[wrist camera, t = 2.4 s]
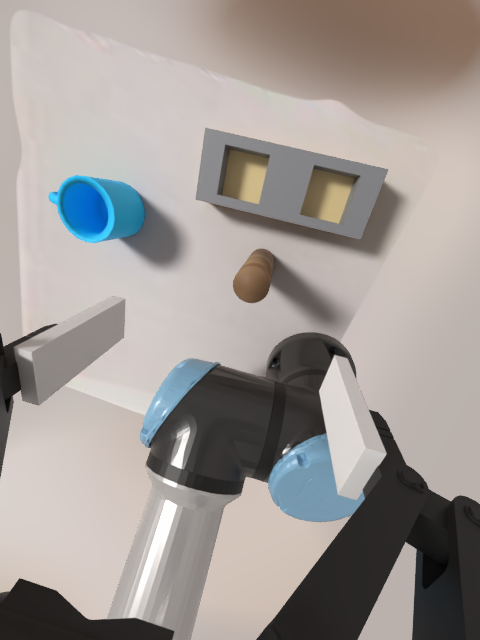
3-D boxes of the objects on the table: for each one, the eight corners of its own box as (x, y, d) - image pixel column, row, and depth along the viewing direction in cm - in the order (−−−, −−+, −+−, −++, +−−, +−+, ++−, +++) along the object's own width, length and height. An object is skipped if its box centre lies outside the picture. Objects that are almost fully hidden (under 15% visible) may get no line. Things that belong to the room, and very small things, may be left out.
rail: (375, 174, 35) (388, 169, 30) (351, 236, 38) (360, 239, 34) (215, 137, 36) (205, 127, 32) (206, 200, 40) (195, 199, 35)
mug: (147, 189, 40) (116, 185, 33) (142, 242, 44) (113, 249, 36) (74, 168, 41) (27, 159, 33) (74, 222, 44) (32, 225, 37)
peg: (277, 270, 42) (273, 298, 29) (253, 277, 43) (239, 306, 30) (270, 245, 41) (263, 262, 28) (245, 253, 42) (228, 272, 29)
